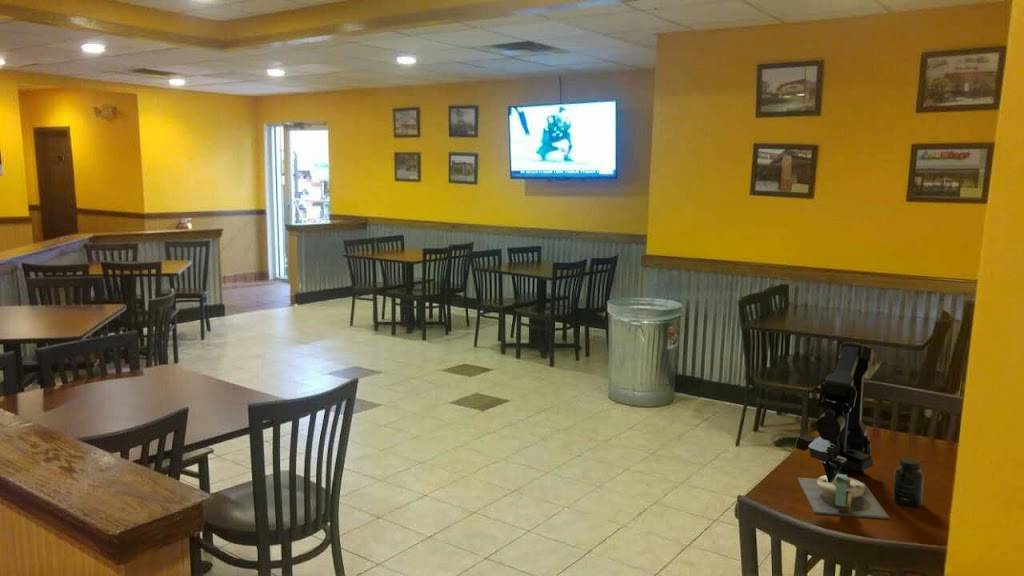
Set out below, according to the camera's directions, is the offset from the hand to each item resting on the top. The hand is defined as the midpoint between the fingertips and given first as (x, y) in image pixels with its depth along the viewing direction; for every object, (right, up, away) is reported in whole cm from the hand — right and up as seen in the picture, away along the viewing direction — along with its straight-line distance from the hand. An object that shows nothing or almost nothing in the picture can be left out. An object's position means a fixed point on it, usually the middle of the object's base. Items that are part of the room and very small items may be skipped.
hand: (830, 482), depth 193 cm
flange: (+4, -4, +4) cm, 7 cm away
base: (+6, -6, +7) cm, 11 cm away
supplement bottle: (+22, -7, +4) cm, 24 cm away
